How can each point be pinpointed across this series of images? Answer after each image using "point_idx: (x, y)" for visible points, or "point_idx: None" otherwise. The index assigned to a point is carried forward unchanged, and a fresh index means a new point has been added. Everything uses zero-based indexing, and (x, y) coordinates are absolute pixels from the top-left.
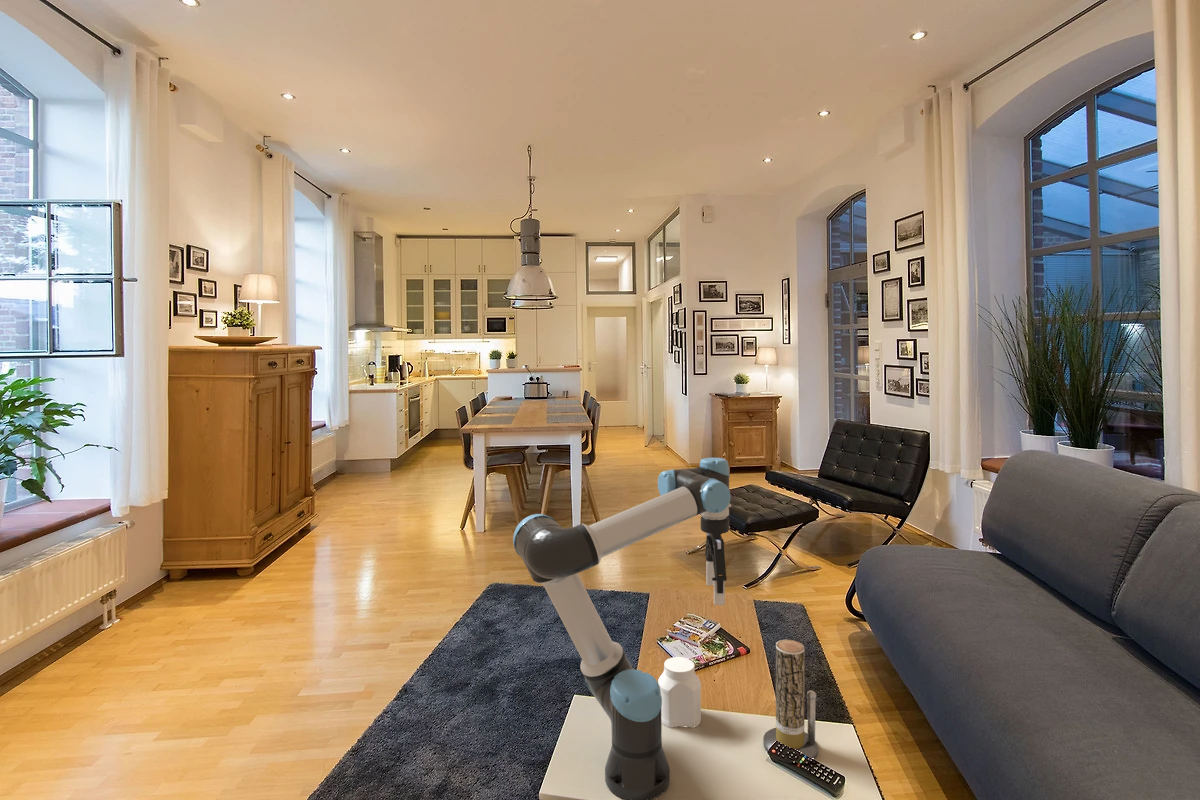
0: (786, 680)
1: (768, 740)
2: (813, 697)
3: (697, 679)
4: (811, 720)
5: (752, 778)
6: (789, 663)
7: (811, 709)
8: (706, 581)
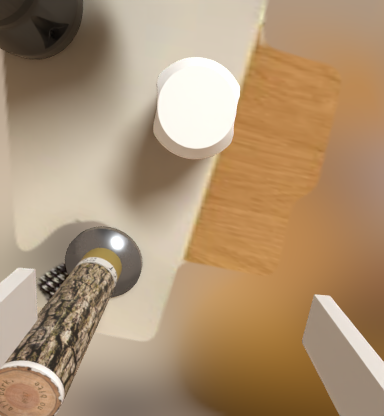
0: None
1: (108, 236)
2: None
3: (181, 150)
4: None
5: (36, 188)
6: None
7: None
8: (332, 307)
